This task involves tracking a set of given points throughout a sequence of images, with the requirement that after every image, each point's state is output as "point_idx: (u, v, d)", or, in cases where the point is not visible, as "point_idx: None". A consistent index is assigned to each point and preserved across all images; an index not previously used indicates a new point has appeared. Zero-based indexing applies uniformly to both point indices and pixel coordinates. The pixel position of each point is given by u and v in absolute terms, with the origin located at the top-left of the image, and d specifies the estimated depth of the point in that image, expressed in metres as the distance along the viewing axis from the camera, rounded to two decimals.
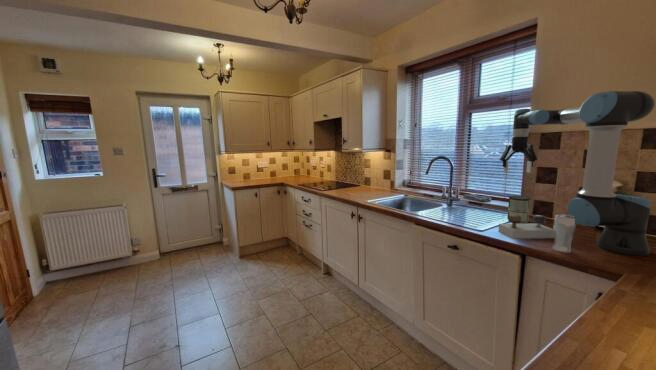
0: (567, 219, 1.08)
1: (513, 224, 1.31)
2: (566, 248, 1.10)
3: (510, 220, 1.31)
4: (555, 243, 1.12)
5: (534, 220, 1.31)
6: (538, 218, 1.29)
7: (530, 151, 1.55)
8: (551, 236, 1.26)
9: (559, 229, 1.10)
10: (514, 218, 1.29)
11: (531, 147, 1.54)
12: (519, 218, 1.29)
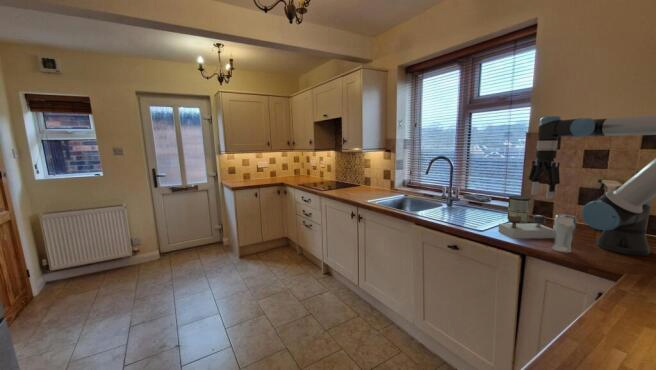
0: (567, 219, 1.08)
1: (513, 224, 1.31)
2: (566, 248, 1.10)
3: (510, 220, 1.31)
4: (555, 243, 1.12)
5: (534, 220, 1.31)
6: (538, 218, 1.29)
7: None
8: (551, 236, 1.26)
9: (559, 229, 1.10)
10: (514, 218, 1.29)
11: (552, 166, 1.21)
12: (519, 218, 1.29)
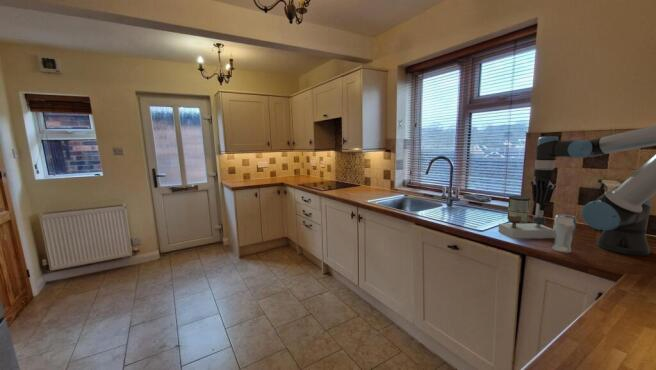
0: (567, 219, 1.08)
1: (513, 224, 1.31)
2: (566, 248, 1.10)
3: (510, 220, 1.31)
4: (555, 243, 1.12)
5: (534, 221, 1.31)
6: (538, 219, 1.29)
7: None
8: (551, 236, 1.26)
9: (559, 229, 1.10)
10: (514, 218, 1.29)
11: (548, 187, 1.24)
12: (519, 218, 1.29)
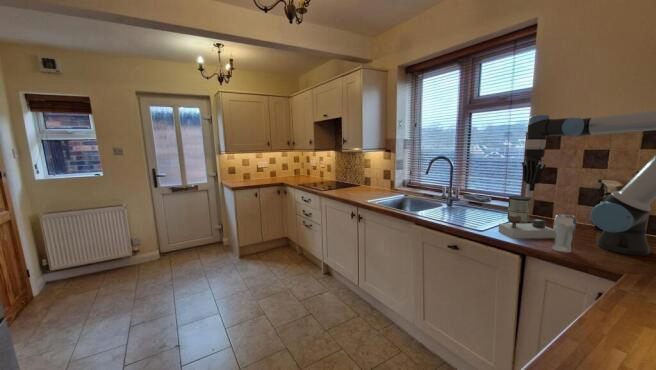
0: (567, 219, 1.08)
1: (513, 224, 1.31)
2: (566, 248, 1.10)
3: (510, 220, 1.31)
4: (555, 243, 1.12)
5: (534, 224, 1.31)
6: (538, 222, 1.29)
7: None
8: (551, 236, 1.26)
9: (559, 229, 1.10)
10: (514, 218, 1.29)
11: (537, 167, 1.23)
12: (519, 218, 1.29)
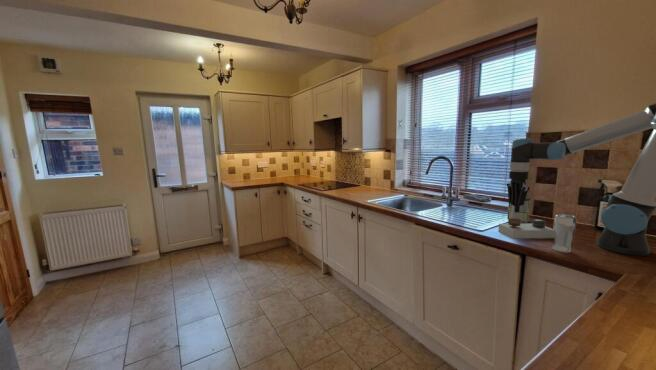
0: (567, 219, 1.08)
1: (513, 227, 1.31)
2: (566, 248, 1.10)
3: (510, 223, 1.31)
4: (555, 243, 1.12)
5: (534, 224, 1.31)
6: (538, 222, 1.29)
7: None
8: (551, 236, 1.26)
9: (559, 229, 1.10)
10: (514, 221, 1.29)
11: (522, 189, 1.24)
12: (519, 221, 1.29)
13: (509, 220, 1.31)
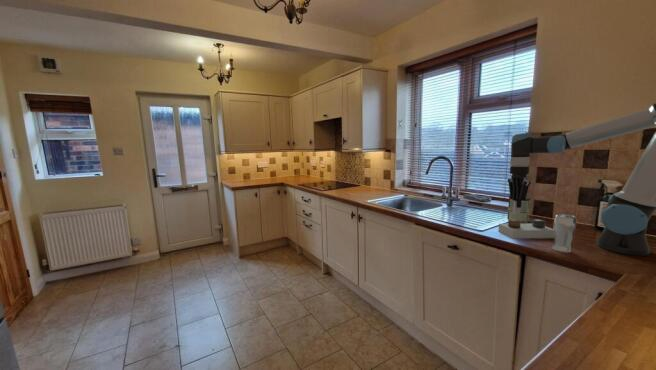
0: (567, 219, 1.08)
1: None
2: (566, 248, 1.10)
3: (510, 224, 1.31)
4: (555, 243, 1.12)
5: (534, 224, 1.31)
6: (538, 222, 1.29)
7: None
8: (551, 236, 1.26)
9: (559, 229, 1.10)
10: (514, 222, 1.29)
11: (523, 184, 1.23)
12: (519, 222, 1.29)
13: (509, 222, 1.31)
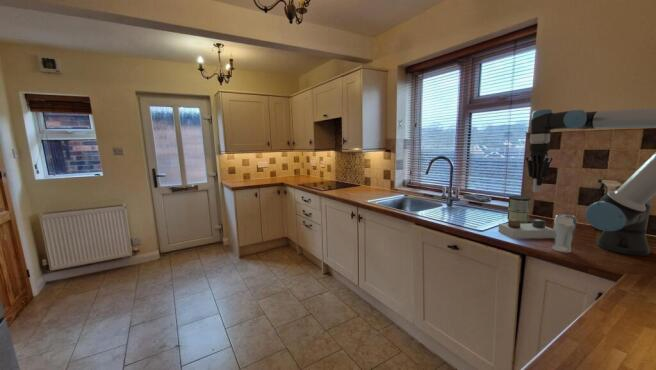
0: (567, 219, 1.08)
1: None
2: (566, 248, 1.10)
3: (510, 224, 1.31)
4: (555, 243, 1.12)
5: (534, 224, 1.31)
6: (538, 222, 1.29)
7: None
8: (551, 236, 1.26)
9: (559, 229, 1.10)
10: (514, 222, 1.29)
11: (545, 161, 1.23)
12: (519, 222, 1.29)
13: (509, 222, 1.31)
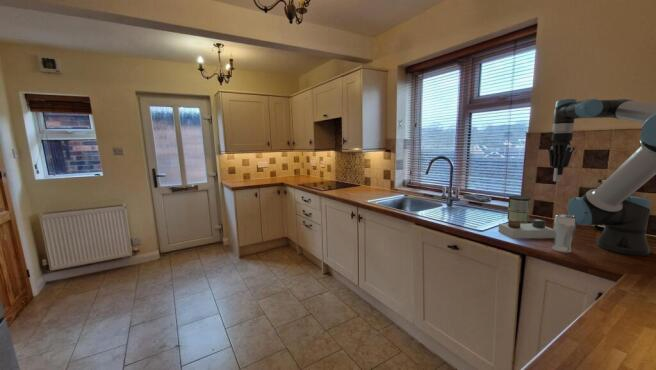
0: (567, 219, 1.08)
1: None
2: (566, 248, 1.10)
3: (510, 224, 1.31)
4: (555, 243, 1.12)
5: (534, 224, 1.31)
6: (538, 222, 1.29)
7: None
8: (551, 236, 1.26)
9: (559, 229, 1.10)
10: (514, 222, 1.29)
11: (567, 150, 1.24)
12: (519, 222, 1.29)
13: (509, 222, 1.31)
